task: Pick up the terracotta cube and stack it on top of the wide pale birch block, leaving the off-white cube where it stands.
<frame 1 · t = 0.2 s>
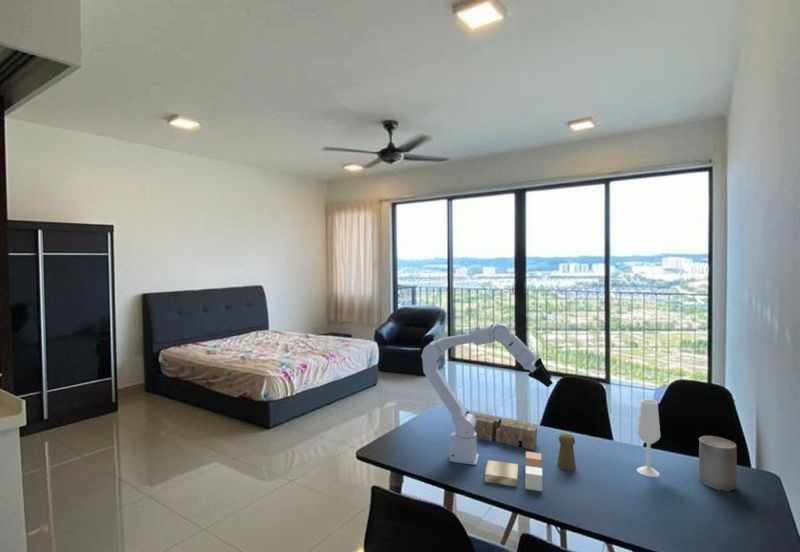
hand: (549, 382, 142), 30 cm above the table, tool tilted 45°, fingers open, 7 cm apart
pillar candle: (716, 484, 135), on the table
terracotta cube: (533, 470, 144), on the table
birch base block: (501, 477, 139), on the table
block tower: (498, 439, 169), on the table
off-white cube: (533, 486, 133), on the table
champagne flute: (648, 472, 142), on the table
cork: (566, 466, 146), on the table
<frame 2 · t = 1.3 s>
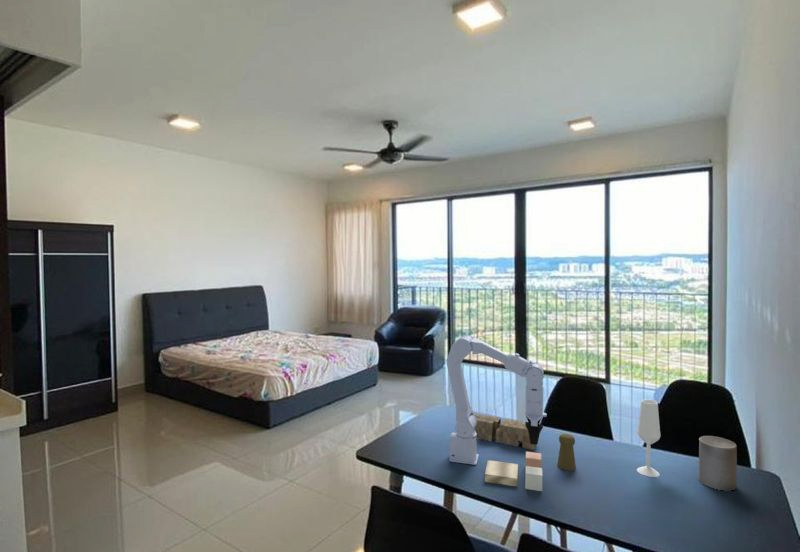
hand: (533, 439, 143), 10 cm above the table, tool pointing down, fingers open, 7 cm apart
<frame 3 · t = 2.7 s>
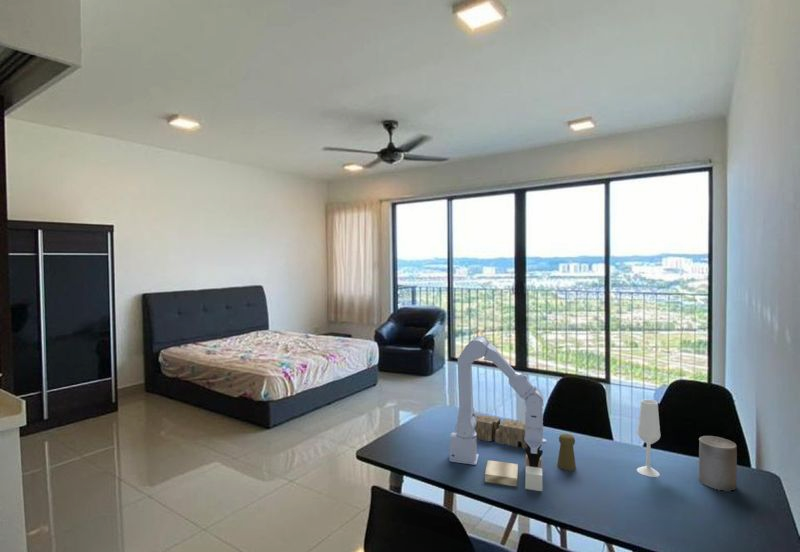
hand: (533, 465, 144), 1 cm above the table, tool pointing down, fingers closed on terracotta cube, 5 cm apart
terracotta cube: (533, 469, 144), on the table, touching gripper
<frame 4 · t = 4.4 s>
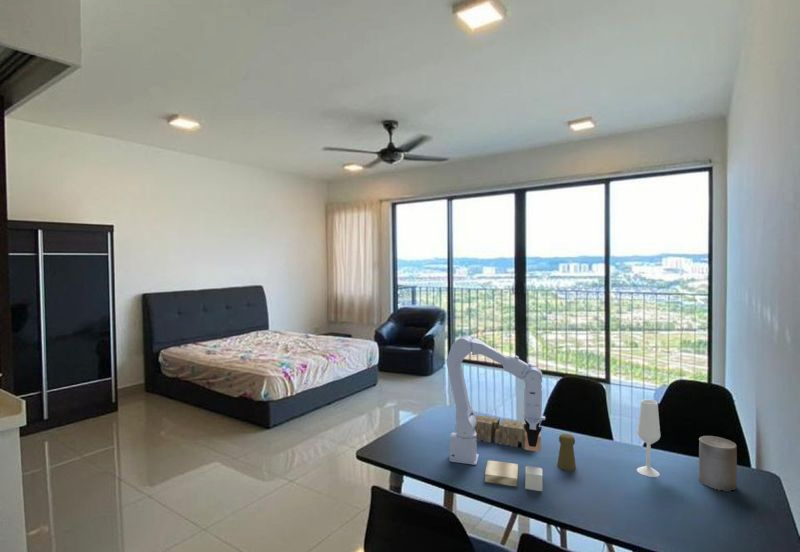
hand: (532, 442, 143), 9 cm above the table, tool pointing down, fingers closed on terracotta cube, 5 cm apart
terracotta cube: (532, 447, 143), point 8 cm above the table, touching gripper
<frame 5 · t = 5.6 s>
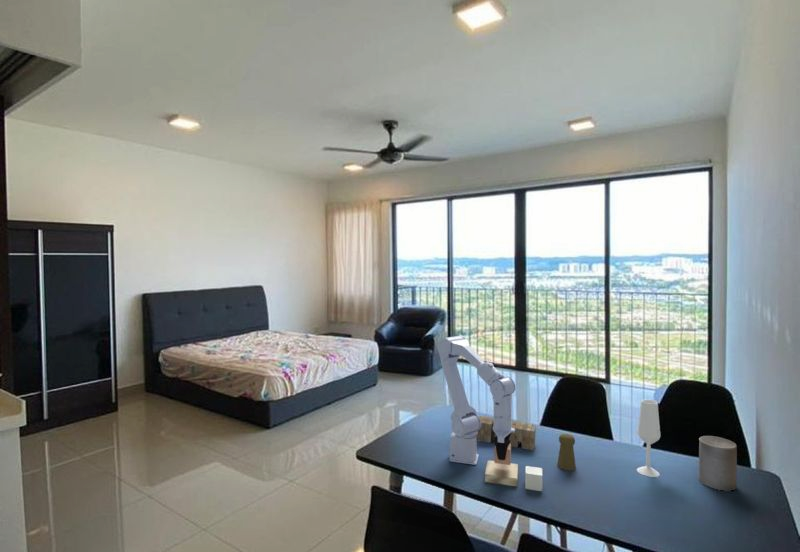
hand: (502, 455, 139), 7 cm above the table, tool pointing down, fingers closed on terracotta cube, 5 cm apart
terracotta cube: (502, 460, 139), point 5 cm above the table, touching gripper
when the fingers open (6 cm above the table, at t = 6.3 s): terracotta cube drops 2 cm, point 2 cm above the table.
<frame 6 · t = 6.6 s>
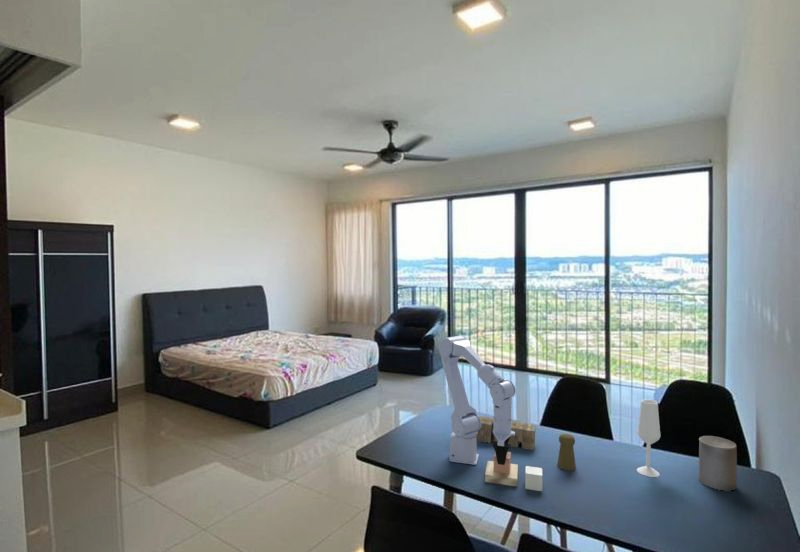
hand: (502, 458, 139), 6 cm above the table, tool pointing down, fingers open, 7 cm apart
terracotta cube: (502, 469, 139), point 2 cm above the table
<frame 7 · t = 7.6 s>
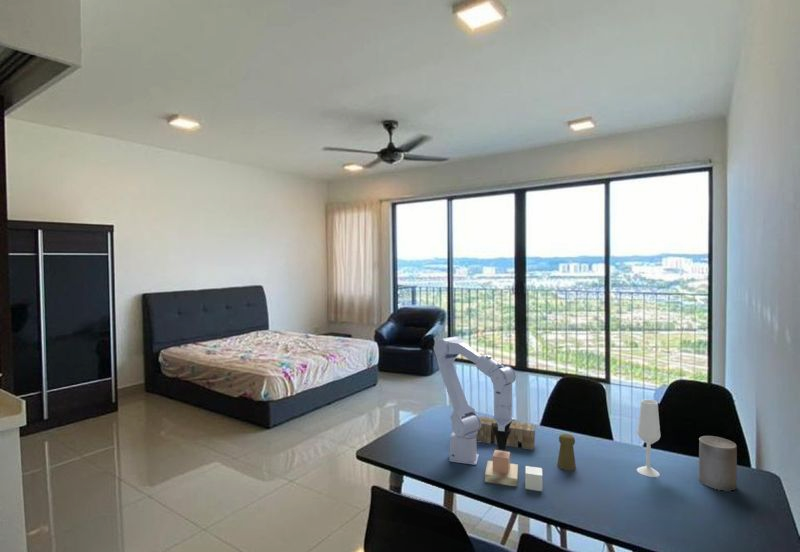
hand: (502, 444, 139), 10 cm above the table, tool pointing down, fingers open, 7 cm apart
terracotta cube: (501, 469, 139), point 2 cm above the table, touching birch base block
birch base block: (501, 478, 139), on the table, touching terracotta cube
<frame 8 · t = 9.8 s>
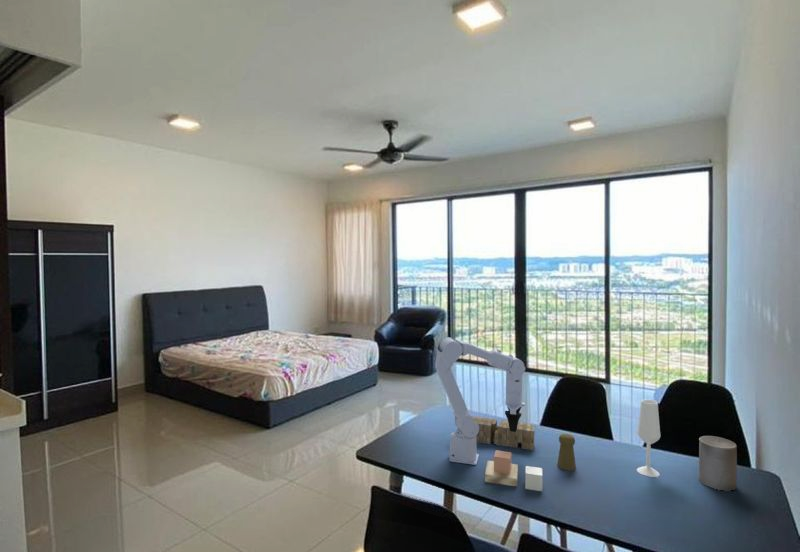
hand: (513, 427, 154), 10 cm above the table, tool pointing down, fingers open, 7 cm apart
at the end: terracotta cube 0.3 cm off-centre on the birch base block, point 3.0 cm above the birch base block's base; terracotta cube tilted 0°; the gripper is holding nothing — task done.
